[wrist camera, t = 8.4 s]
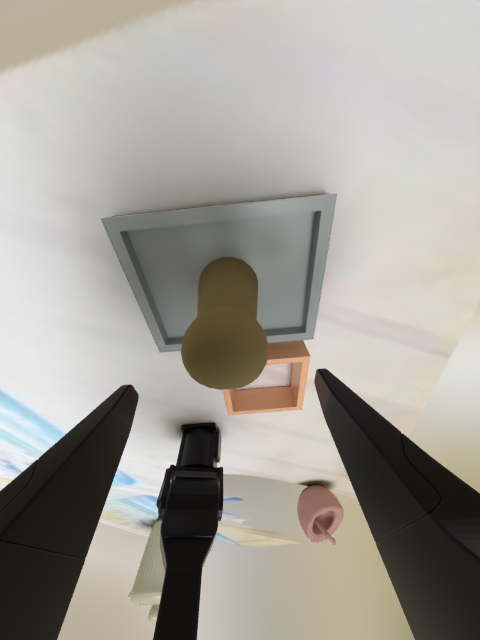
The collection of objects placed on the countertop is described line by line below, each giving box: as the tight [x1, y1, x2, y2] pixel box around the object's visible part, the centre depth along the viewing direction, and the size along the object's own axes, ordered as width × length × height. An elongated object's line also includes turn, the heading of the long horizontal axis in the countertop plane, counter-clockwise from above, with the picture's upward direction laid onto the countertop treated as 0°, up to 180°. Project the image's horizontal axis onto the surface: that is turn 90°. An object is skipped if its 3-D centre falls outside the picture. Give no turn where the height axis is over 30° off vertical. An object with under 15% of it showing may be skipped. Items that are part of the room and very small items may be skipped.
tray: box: [101, 194, 337, 352], centre depth 19 cm, size 18×14×2 cm
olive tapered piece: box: [181, 257, 269, 390], centre depth 15 cm, size 6×6×11 cm
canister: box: [128, 520, 165, 623], centre depth 65 cm, size 18×18×21 cm
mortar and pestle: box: [298, 485, 343, 545], centre depth 51 cm, size 12×12×12 cm
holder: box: [223, 340, 310, 415], centre depth 26 cm, size 11×11×4 cm
